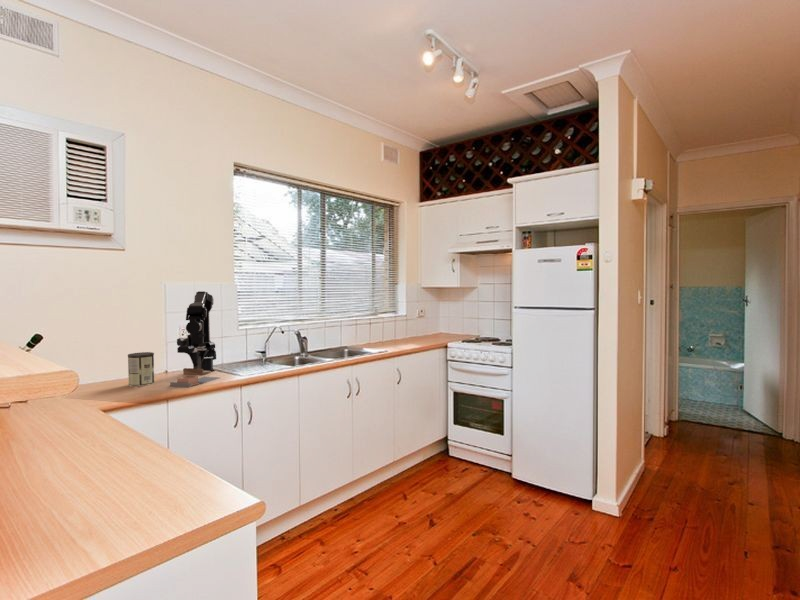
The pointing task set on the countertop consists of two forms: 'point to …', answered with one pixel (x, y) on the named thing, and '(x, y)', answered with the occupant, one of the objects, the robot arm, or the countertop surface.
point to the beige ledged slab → (195, 369)
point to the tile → (188, 379)
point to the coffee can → (141, 369)
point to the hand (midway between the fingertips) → (197, 365)
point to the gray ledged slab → (200, 381)
